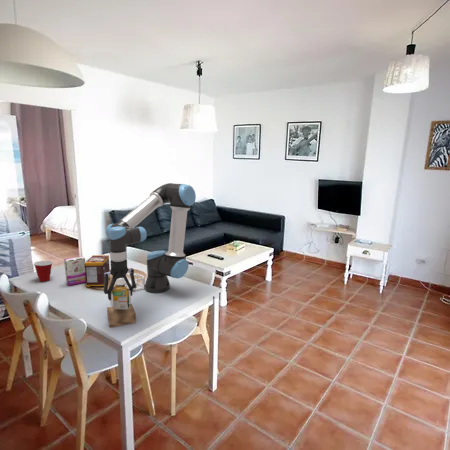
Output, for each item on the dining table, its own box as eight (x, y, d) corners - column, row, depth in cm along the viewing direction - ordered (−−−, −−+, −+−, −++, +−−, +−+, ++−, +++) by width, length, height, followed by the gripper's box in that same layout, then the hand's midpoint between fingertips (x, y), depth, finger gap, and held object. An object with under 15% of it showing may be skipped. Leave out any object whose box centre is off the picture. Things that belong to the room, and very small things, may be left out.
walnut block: (132, 312, 164) (131, 303, 163) (135, 323, 154) (135, 313, 153) (107, 316, 159) (107, 307, 158) (109, 328, 149) (109, 318, 148)
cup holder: (112, 285, 197) (111, 274, 196) (127, 280, 206) (126, 269, 205) (132, 294, 186) (132, 282, 185) (147, 288, 195) (147, 276, 193)
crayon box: (129, 306, 157) (128, 284, 155) (127, 309, 154) (126, 287, 152) (114, 306, 157) (113, 284, 154) (112, 309, 154) (111, 286, 151)
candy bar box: (84, 280, 205) (83, 255, 201) (86, 282, 201) (85, 257, 197) (65, 283, 198) (63, 258, 195) (67, 286, 194) (65, 260, 191)
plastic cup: (57, 279, 205) (56, 261, 202) (40, 284, 196) (38, 266, 194) (49, 275, 211) (47, 258, 208) (32, 280, 202) (30, 262, 200)
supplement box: (110, 277, 209) (109, 254, 205) (103, 287, 194) (102, 262, 190) (94, 277, 208) (92, 254, 204) (86, 287, 193) (84, 263, 190)
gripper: (137, 254, 159) (139, 296, 163) (94, 260, 148) (97, 305, 153) (142, 258, 153) (143, 302, 157) (97, 265, 142) (100, 311, 147)
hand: (120, 303), depth 155 cm, fingers closed on crayon box, 8 cm apart
